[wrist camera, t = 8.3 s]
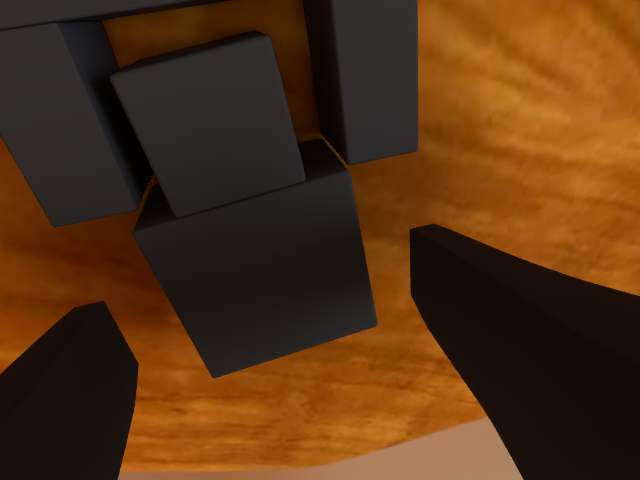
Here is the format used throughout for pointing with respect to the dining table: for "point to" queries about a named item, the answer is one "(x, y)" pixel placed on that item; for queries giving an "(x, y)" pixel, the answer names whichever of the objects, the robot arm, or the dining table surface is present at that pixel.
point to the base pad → (115, 128)
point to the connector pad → (243, 207)
